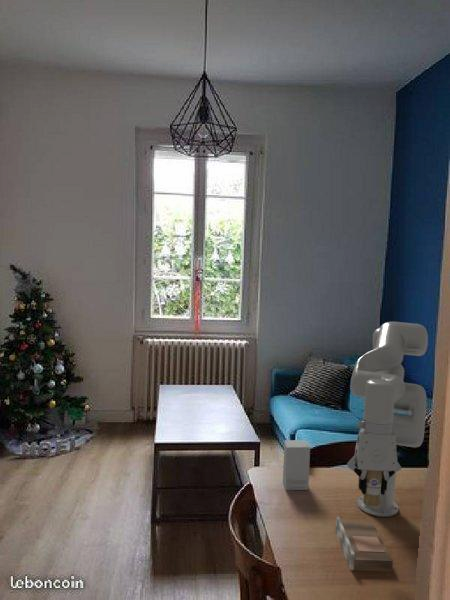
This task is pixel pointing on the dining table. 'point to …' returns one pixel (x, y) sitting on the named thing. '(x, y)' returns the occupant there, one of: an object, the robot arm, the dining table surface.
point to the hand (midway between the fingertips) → (372, 491)
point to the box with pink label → (363, 546)
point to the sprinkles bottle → (373, 488)
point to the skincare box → (296, 465)
